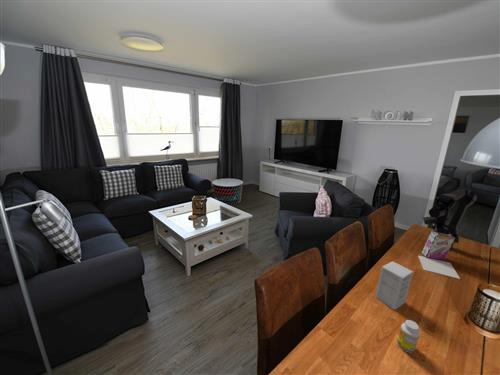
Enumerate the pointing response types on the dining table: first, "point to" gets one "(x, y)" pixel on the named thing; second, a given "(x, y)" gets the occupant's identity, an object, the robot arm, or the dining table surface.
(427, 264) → the mat
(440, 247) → the candy bar box
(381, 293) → the supplement box
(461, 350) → the dining table surface
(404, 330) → the supplement bottle
